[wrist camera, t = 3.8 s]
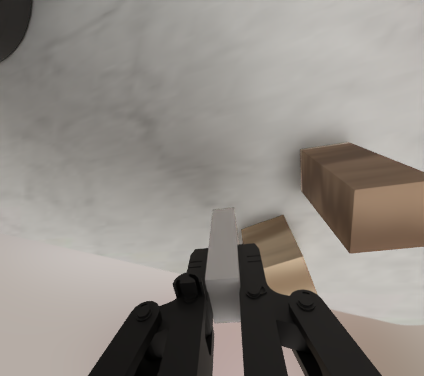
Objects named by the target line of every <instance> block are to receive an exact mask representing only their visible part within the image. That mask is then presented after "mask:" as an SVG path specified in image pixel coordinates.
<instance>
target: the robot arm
mask: <svg viewBox="0 0 424 376" xmlns="http://www.w3.org/2000/svg"><path fill="white" fill-rule="evenodd" d="M30 10H31V0H0V61H1V60H3V59H4V58H6V57H7V56H8V55H10V54H11V53H12V52H13V51H14V49H15V48H16V47H17V46H18V44H19V43H20V41H21V39H22V37H23V35H24V33H25V30H26V28H27V24H28V21H29V16H30ZM173 287H174V290H175V294H176V297H177V298H176V299H175V300H174V301H172V302H169V303H167V304H164V305H162V306H158V304H157V303H155V302H153V301H146V302H143V303H141V304H139V305H138V306H136V307H135V308H134V310H133V311H132V312H131V313H130V315H129V316H128V318H127V319H126V321H125V322H124V324H123V325H122V327H121V328H120V329H119V331H118V333H117V334H116V335H115V337H114V338H113V340H112V341H111V343H110V344H109V346H108V347H107V349H106V350H105V351H104V353H103V354H102V356H101V357H100V359H99V360H98V362H97V363H96V365H95V366H94V368H93V369H92V371H91V372H90V374H89V375H88V376H212V371H213V349H214V331H213V319H214V323H230V322H241V331H242V347H243V362H244V376H288V374H287V369H286V365H285V360H284V356H283V351H282V346H284V347H287V348H290V349H292V351H293V353H294V355H295V357H296V358H297V361H298V363H299V365H300V367H301V369H302V371H303V373H304V375H305V376H382V375H381V374H380V373H379V372H378V370H377V369H376V368H375V366H374V365H373V364H372V363H371V361H370V360H369V359H368V358H367V356H366V355H365V354H364V352H363V351H362V350H361V349H360V347H359V346H358V345H357V343H356V342H355V341H354V340H353V338H352V337H351V336H350V335H349V333H348V332H347V331H346V329H345V328H344V327H343V326H342V324H341V323H340V322H339V321H338V319H337V318H336V317H335V315H334V314H333V313H332V312H331V310H330V309H329V308H328V306H327V305H326V304H325V303H324V301H323V300H322V299H321V298H320V297H319V296H318V295H317V294H316V293H314V292H312V291H309V290H304V289H302V290H296V291H294V292H292V293H291V295H290V296H288V295H283V294H280V293H277V292H275V291H273V290H272V289H271V288H270V287H269V286H268V285H267V282H266V278H265V273H264V269H263V264H262V259H261V255H260V250H259V248H258V247H257V245H256V244H255V243H250V244H240V245H239V240H238V232H237V225H236V218H235V211H234V207H233V208H224V209H215V210H213V213H212V222H211V231H210V239H209V248H204V249H195V250H194V252H193V253H192V254H191V256H190V260H189V265H188V270H187V273H183V274H181V275H180V276H178V277H177V278H176V279H175V280H174V283H173Z"/></svg>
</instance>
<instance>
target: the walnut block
mask: <svg viewBox="0 0 424 376" xmlns="http://www.w3.org/2000/svg"><path fill="white" fill-rule="evenodd" d="M300 163H301V191H302V192H303V194H304V195H305V196H306V198H307V199H308V200H309V201H310V203H311V204H312V205H313V207H314V208H315V209H316V211H317V212H318V213H319V214H320V216H321V217H322V218H323V220H324V221H325V222H326V223H327V225H328V226H329V227H330V229H331V230H332V231H333V232H334V234H335V235H336V236H337V238H338V239H339V240H340V241H341V243H342V244H343V245H344V247H345V248H346V249H347V250H348V252H349V253H360V252H371V251H382V250H392V249H403V248H413V247H424V172H422V171H420V170H417V169H415V168H412V167H410V166H407V165H405V164H402V163H400V162H397V161H395V160H392V159H390V158H387V157H384V156H382V155H379V154H377V153H374V152H372V151H369V150H367V149H364V148H362V147H359V146H357V145H354V144H352V143H349V142H346V143H339V144H332V145H326V146H319V147H312V148H305V149H300Z"/></svg>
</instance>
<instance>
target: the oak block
mask: <svg viewBox="0 0 424 376" xmlns="http://www.w3.org/2000/svg"><path fill="white" fill-rule="evenodd" d="M241 231H242V239H243V244H250V243H255V244H256V245H257V247H258V248H259V250H260V255H261V259H262V264H263V269H264V273H265V278H266V282H267V285H268V286H269V287H270V288H271V289H272V290H273V291H275V292H277V293H280V294H283V295H288V296H290V295H291V293H292V292H294V291H296V290H302V289H304V290H309V291H312V292H314V293H316V294H317V292H316V289H315V287H314V284H313V281H312V279H311V276H310V274H309V271H308V268H307V266H306V263H305V260H304V258H303V255H302V253H301V251H300V249H299V247H298V245H297V243H296V241H295V238H294V236H293V234H292V232H291V230H290V228H289V226H288V224H287V222H286V220H285V217H284V215H281V216H278V217H276V218H273V219H270V220H267V221H264V222H261V223H258V224H256V225H253V226H250V227H247V228H244V229H241Z"/></svg>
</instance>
